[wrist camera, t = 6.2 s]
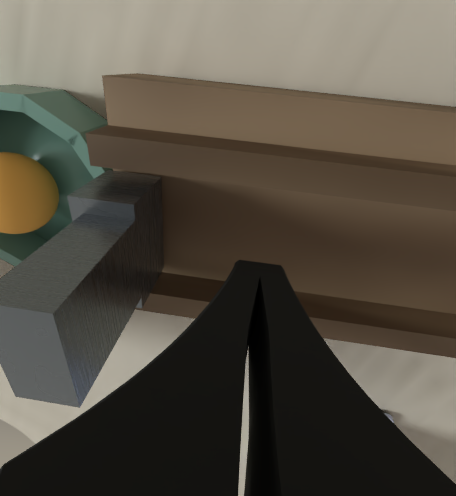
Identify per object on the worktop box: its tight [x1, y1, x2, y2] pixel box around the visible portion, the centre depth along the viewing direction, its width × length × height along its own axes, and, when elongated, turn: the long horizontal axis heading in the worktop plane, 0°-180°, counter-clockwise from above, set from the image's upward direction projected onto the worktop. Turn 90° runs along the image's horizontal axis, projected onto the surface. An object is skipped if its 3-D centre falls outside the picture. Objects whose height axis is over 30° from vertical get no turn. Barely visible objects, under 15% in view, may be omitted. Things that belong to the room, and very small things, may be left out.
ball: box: [0, 152, 59, 234], centre depth 13 cm, size 4×4×4 cm
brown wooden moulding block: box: [85, 74, 456, 358], centre depth 13 cm, size 10×18×4 cm, turn 85°
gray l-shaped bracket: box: [0, 170, 164, 408], centre depth 9 cm, size 4×2×7 cm, turn 175°
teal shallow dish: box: [0, 84, 113, 267], centre depth 14 cm, size 8×8×2 cm
